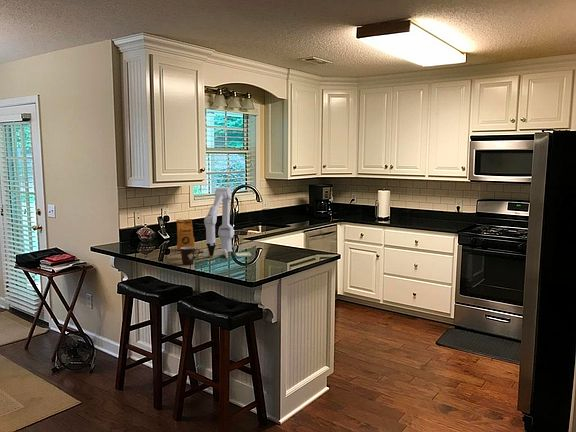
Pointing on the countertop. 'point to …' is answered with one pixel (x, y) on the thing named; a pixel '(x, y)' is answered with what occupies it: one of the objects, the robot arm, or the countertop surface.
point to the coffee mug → (188, 255)
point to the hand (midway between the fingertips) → (211, 254)
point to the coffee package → (185, 233)
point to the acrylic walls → (217, 252)
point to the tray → (243, 254)
